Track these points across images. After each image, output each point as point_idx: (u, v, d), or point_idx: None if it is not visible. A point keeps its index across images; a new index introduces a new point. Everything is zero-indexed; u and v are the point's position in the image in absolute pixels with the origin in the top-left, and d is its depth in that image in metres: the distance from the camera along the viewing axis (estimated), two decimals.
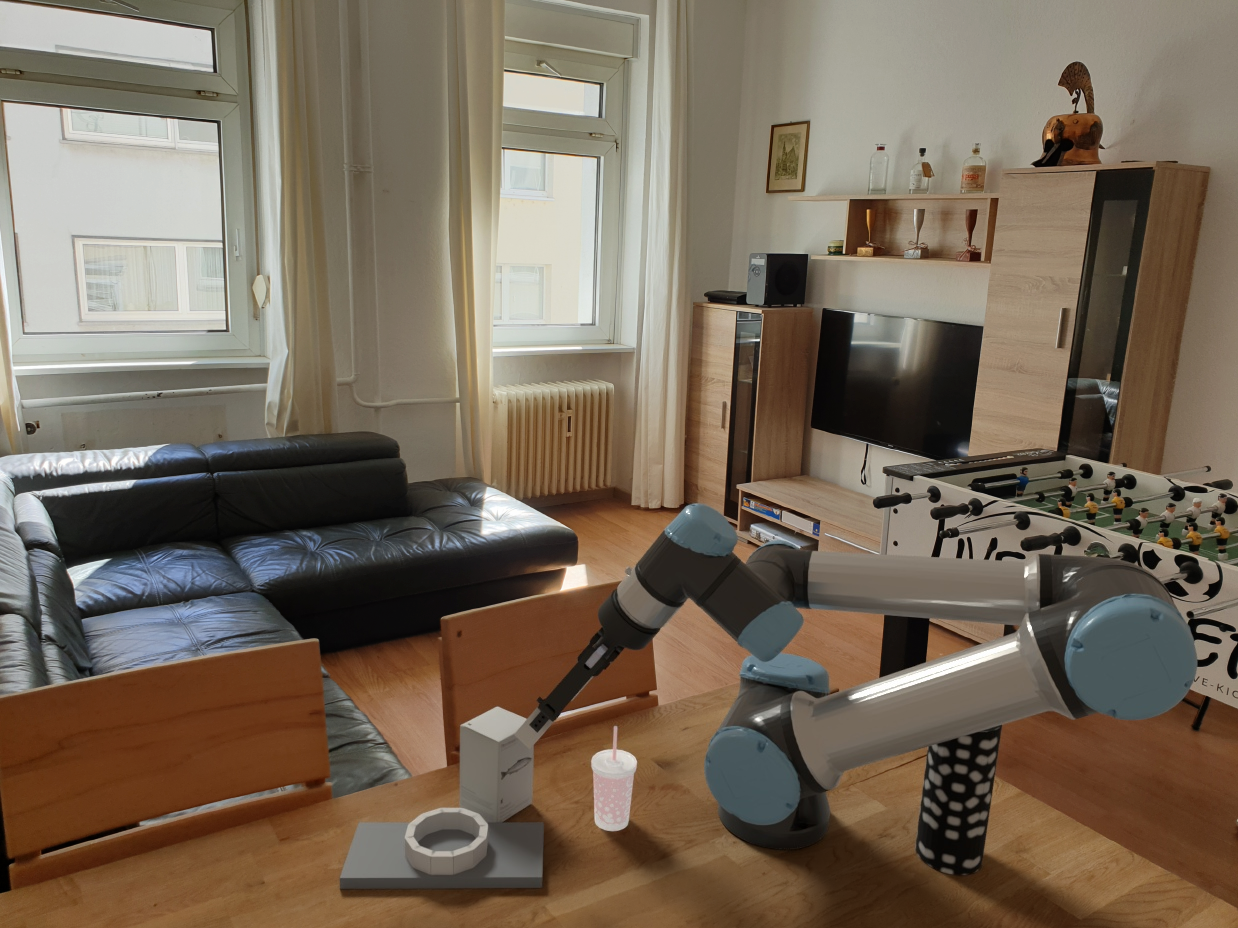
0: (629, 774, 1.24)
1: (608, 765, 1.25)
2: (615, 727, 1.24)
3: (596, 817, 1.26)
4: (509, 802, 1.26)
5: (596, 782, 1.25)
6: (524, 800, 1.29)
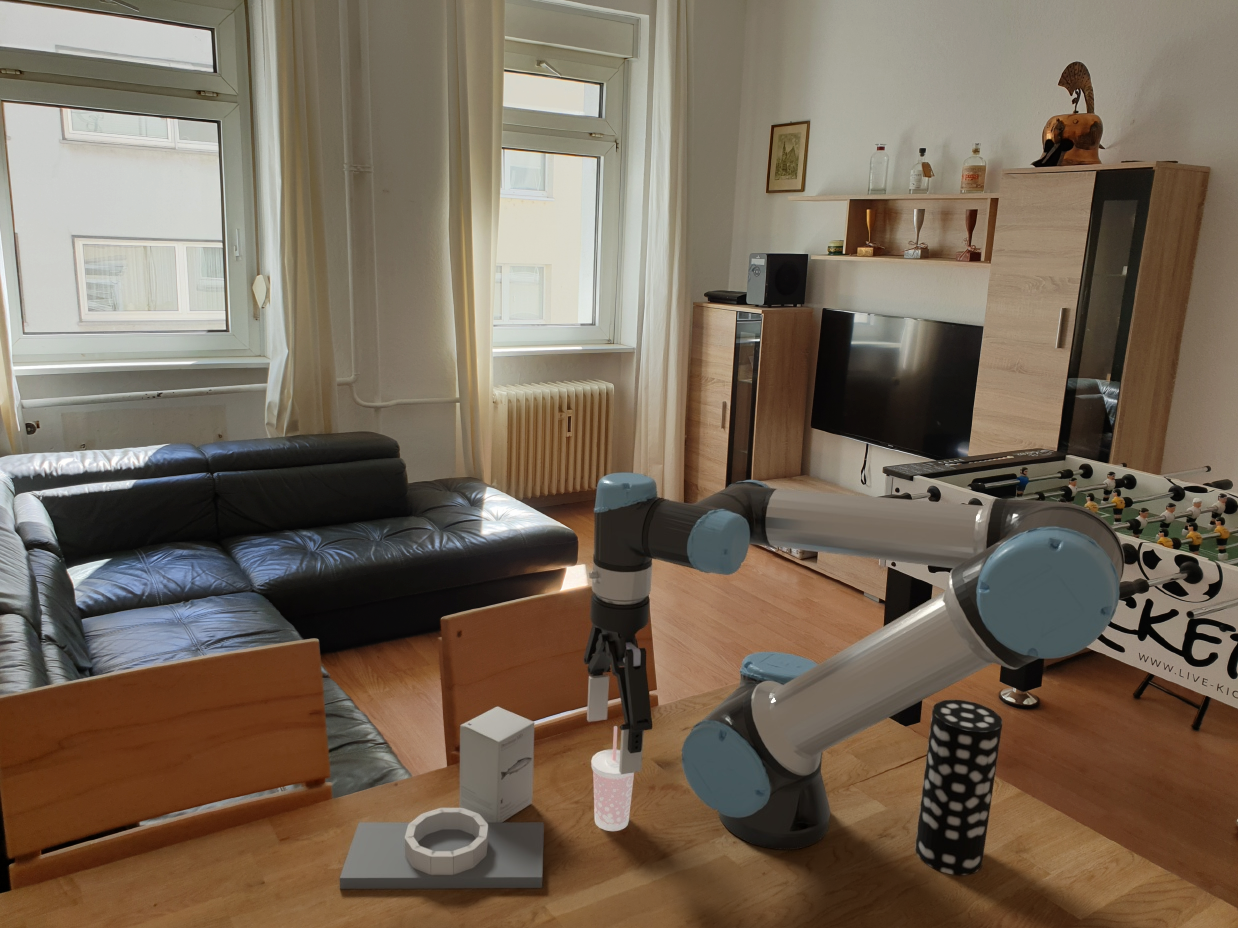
0: (629, 774, 1.24)
1: (608, 765, 1.25)
2: (615, 727, 1.24)
3: (596, 817, 1.26)
4: (509, 802, 1.26)
5: (596, 782, 1.25)
6: (524, 800, 1.29)
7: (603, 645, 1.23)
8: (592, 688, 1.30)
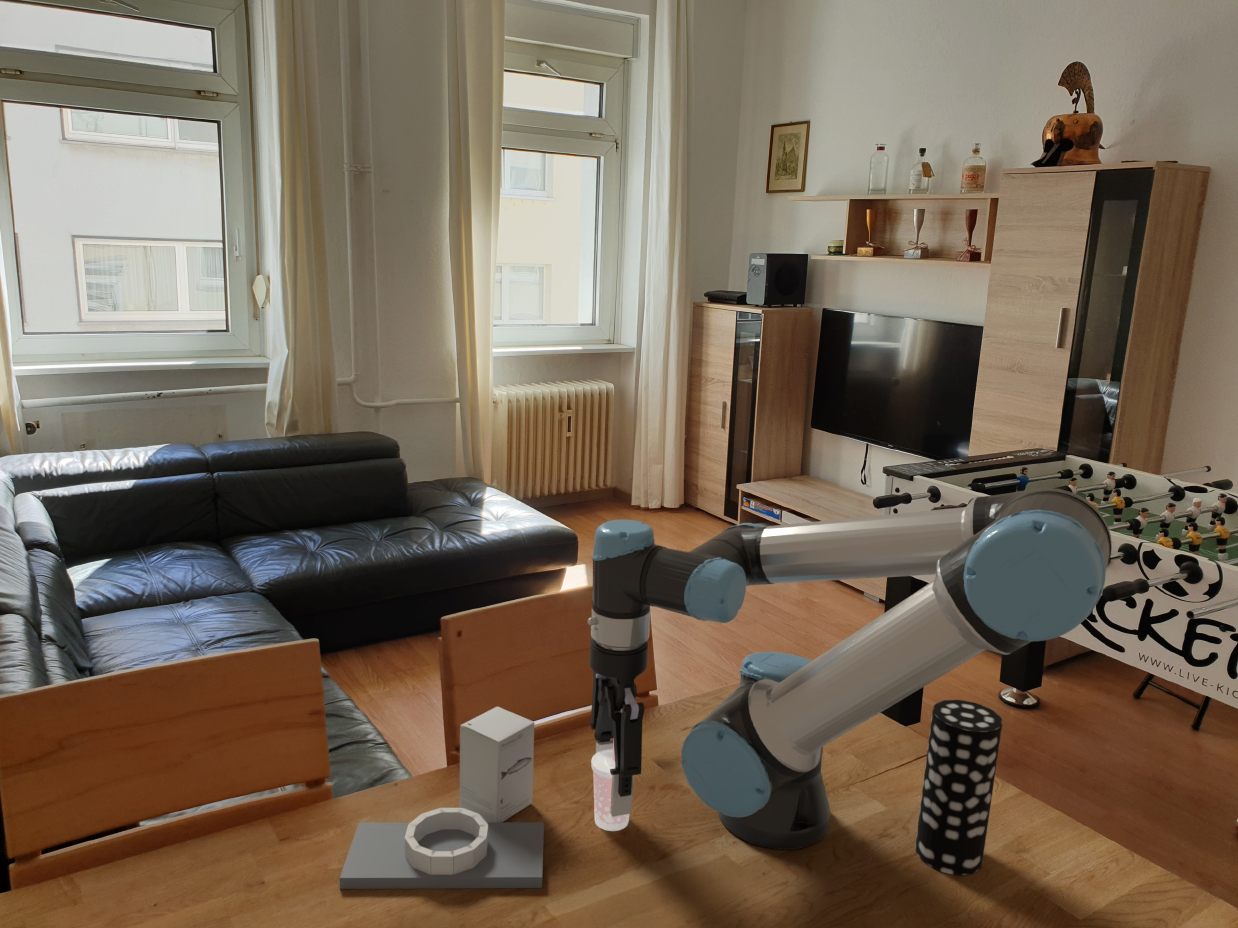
0: None
1: (608, 765, 1.25)
2: None
3: (596, 817, 1.26)
4: (509, 802, 1.26)
5: (596, 782, 1.25)
6: (524, 800, 1.29)
7: (604, 691, 1.24)
8: None
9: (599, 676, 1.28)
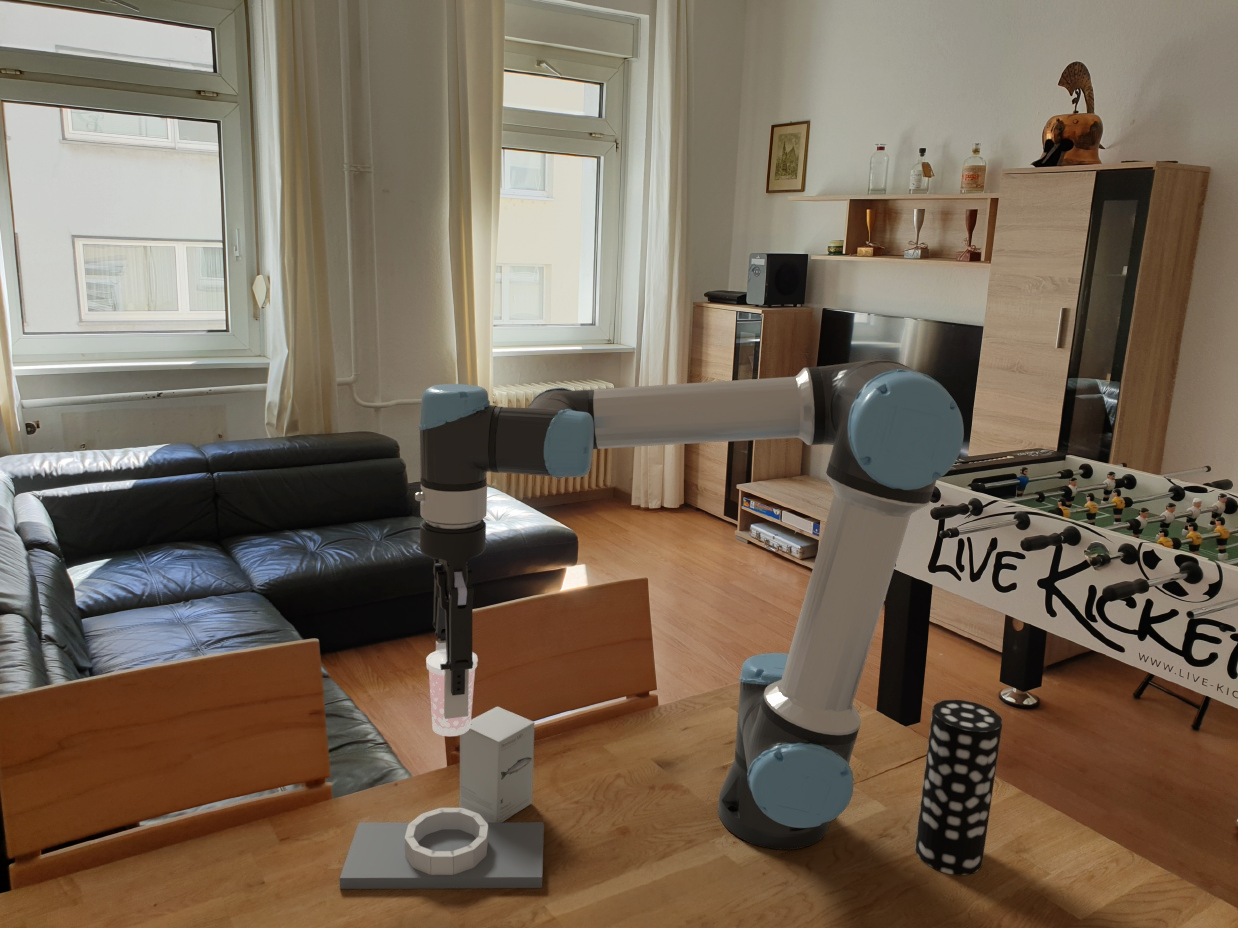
0: None
1: (443, 662, 1.12)
2: None
3: (432, 721, 1.14)
4: (509, 802, 1.26)
5: (430, 681, 1.12)
6: (524, 800, 1.29)
7: None
8: None
9: None
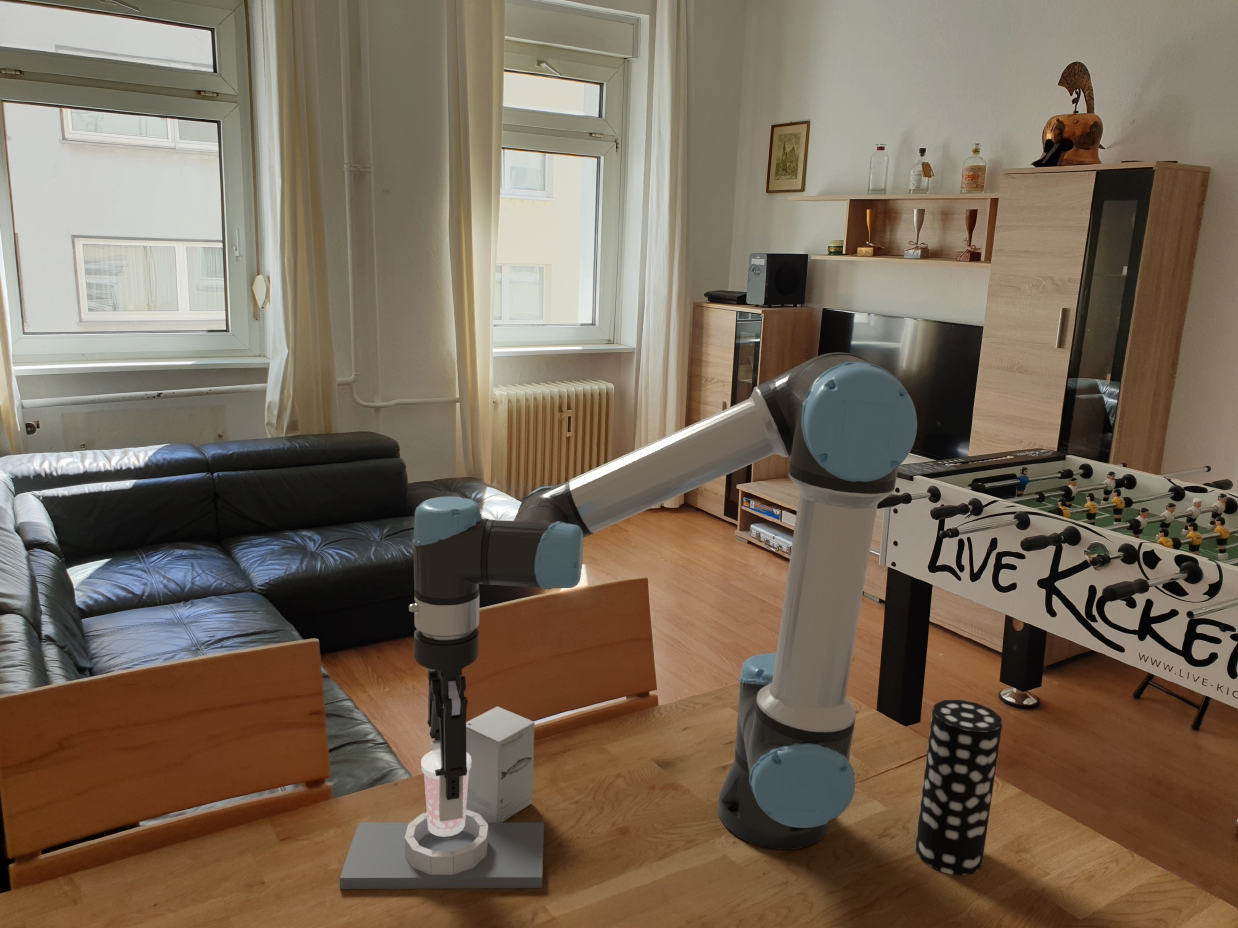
0: None
1: (438, 765, 1.14)
2: None
3: (427, 821, 1.16)
4: (509, 802, 1.26)
5: (425, 783, 1.14)
6: (524, 800, 1.29)
7: None
8: None
9: None
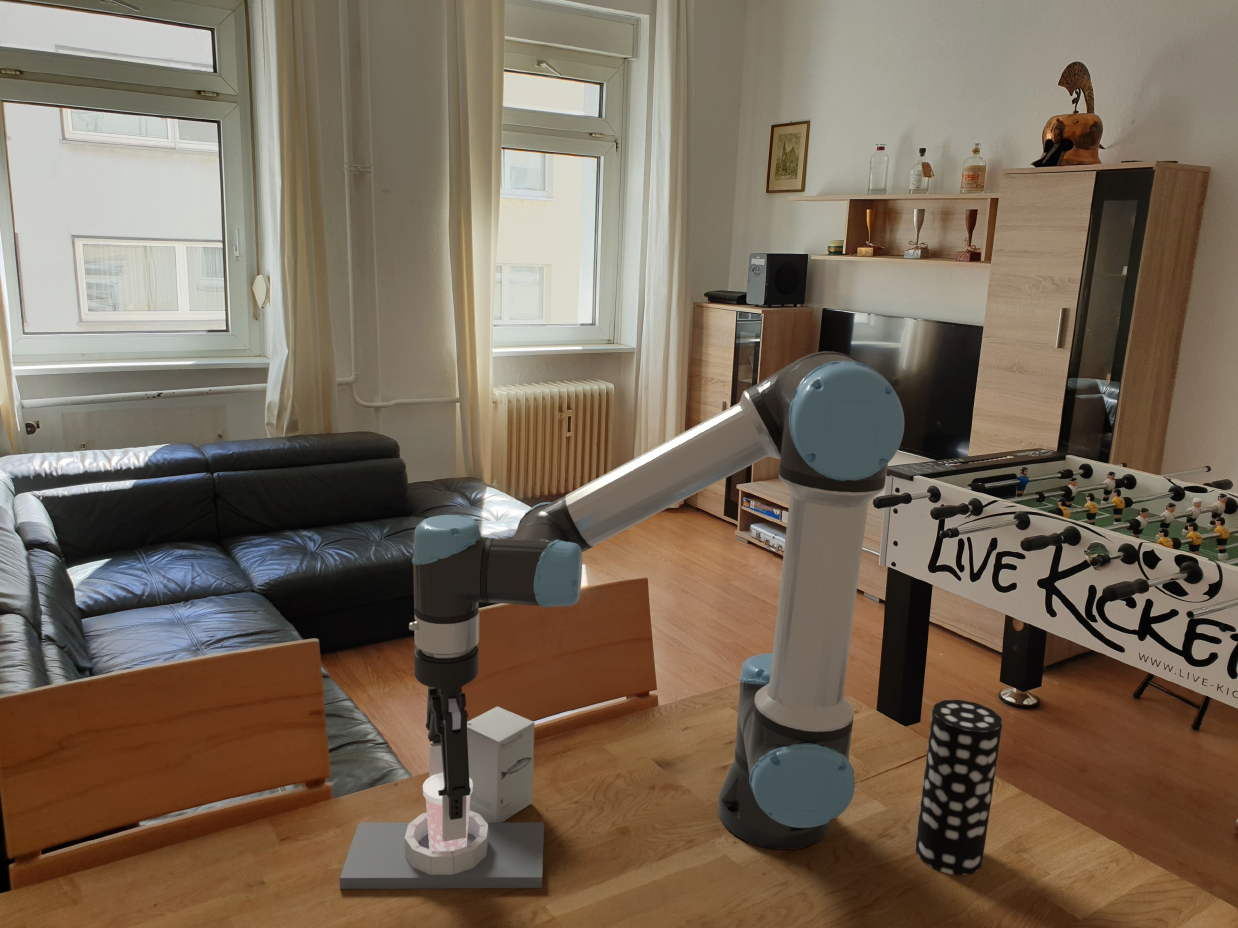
0: None
1: None
2: None
3: (429, 845, 1.17)
4: (509, 802, 1.26)
5: (427, 808, 1.15)
6: (524, 800, 1.29)
7: None
8: (432, 757, 1.20)
9: None
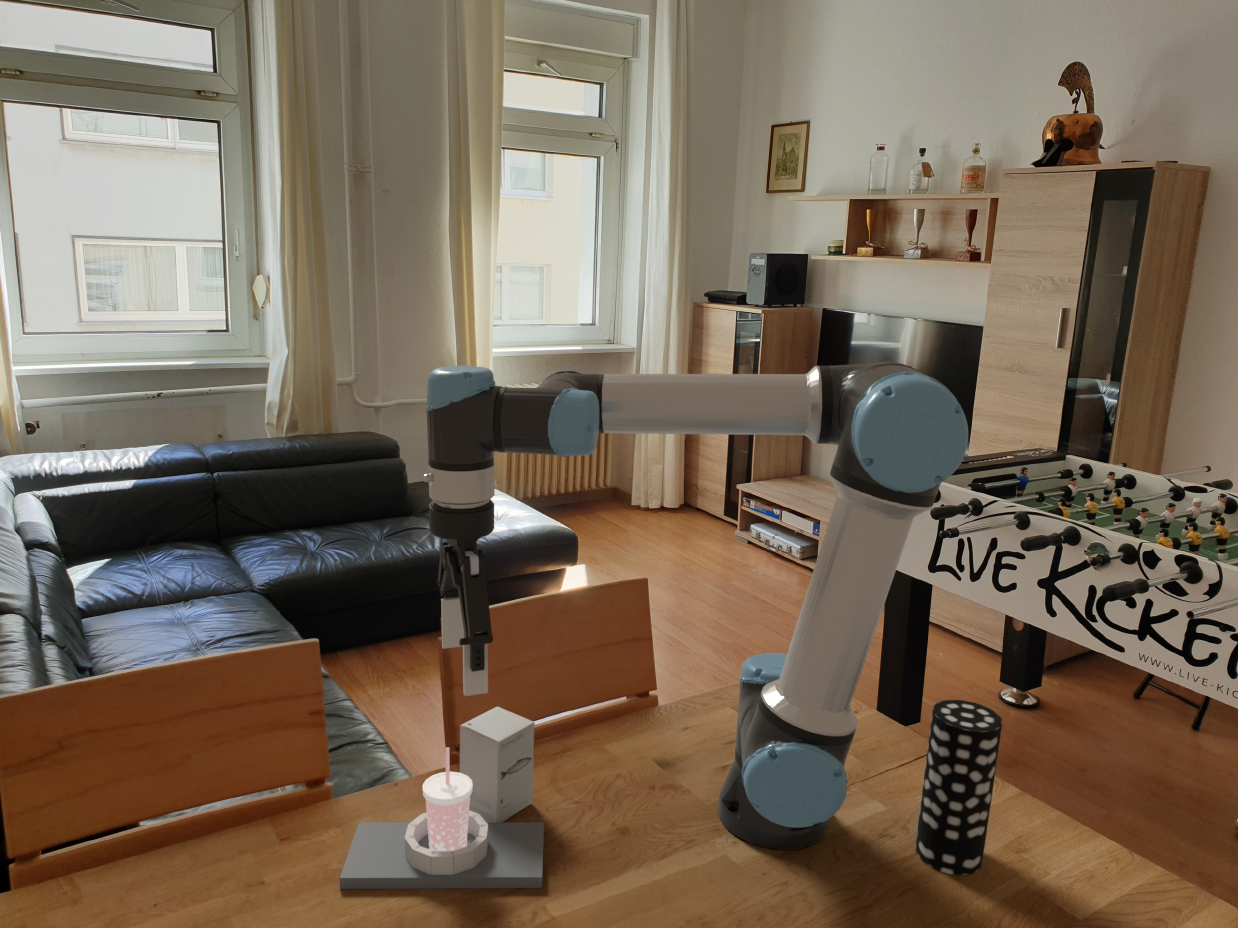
0: (461, 800, 1.14)
1: (439, 790, 1.15)
2: (447, 748, 1.15)
3: (429, 845, 1.17)
4: (509, 802, 1.26)
5: (427, 808, 1.15)
6: (524, 800, 1.29)
7: (447, 559, 1.12)
8: (445, 611, 1.19)
9: (446, 541, 1.16)
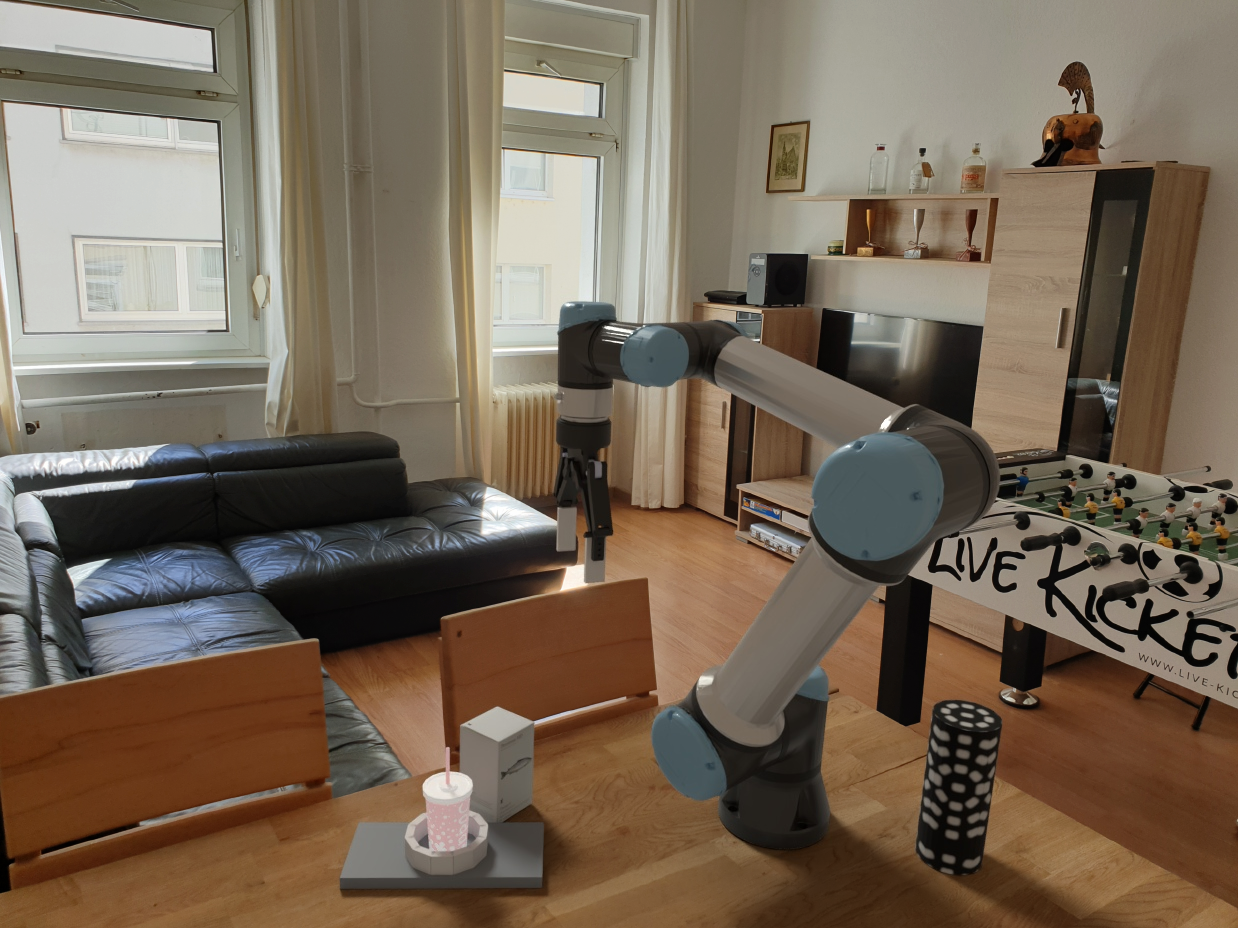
0: (461, 799, 1.14)
1: (439, 790, 1.15)
2: (447, 748, 1.15)
3: (429, 845, 1.17)
4: (509, 802, 1.26)
5: (427, 808, 1.15)
6: (524, 800, 1.29)
7: (569, 469, 1.31)
8: (561, 518, 1.37)
9: (565, 455, 1.34)
